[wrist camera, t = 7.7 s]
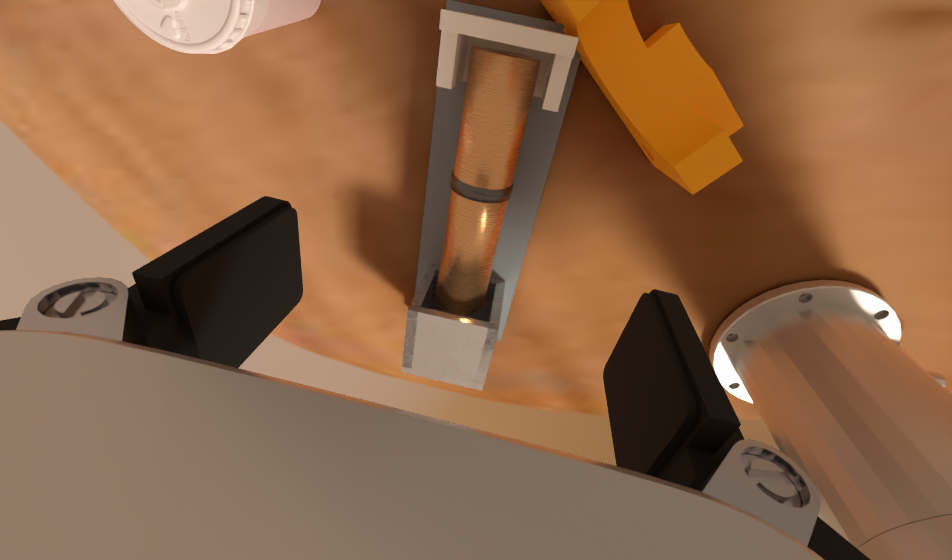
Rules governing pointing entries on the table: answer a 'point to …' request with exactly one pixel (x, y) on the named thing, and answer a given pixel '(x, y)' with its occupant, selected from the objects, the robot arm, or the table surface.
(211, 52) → the smoothie
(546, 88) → the light grey u-shaped block
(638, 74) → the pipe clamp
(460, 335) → the sleeve
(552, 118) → the board
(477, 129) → the tube
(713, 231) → the table surface
